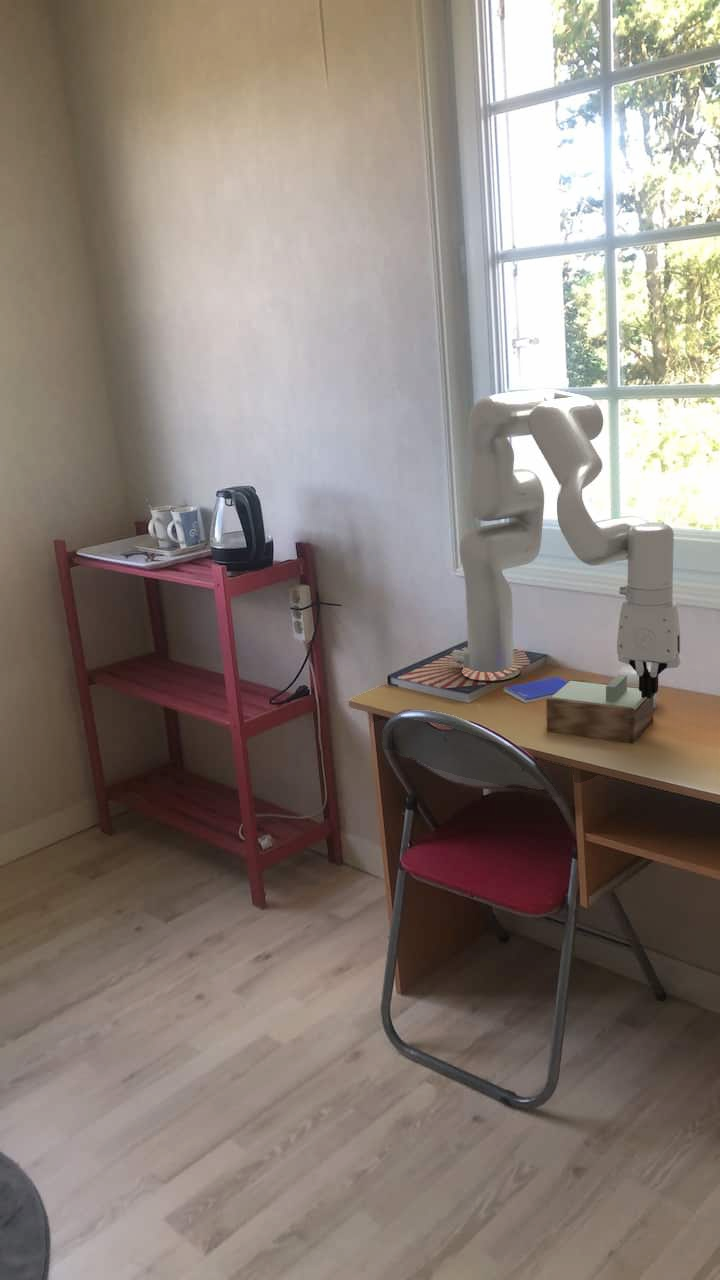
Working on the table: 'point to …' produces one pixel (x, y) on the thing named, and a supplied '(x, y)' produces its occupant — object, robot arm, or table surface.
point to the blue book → (536, 689)
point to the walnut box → (599, 718)
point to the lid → (602, 693)
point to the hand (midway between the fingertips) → (648, 695)
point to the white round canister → (634, 678)
